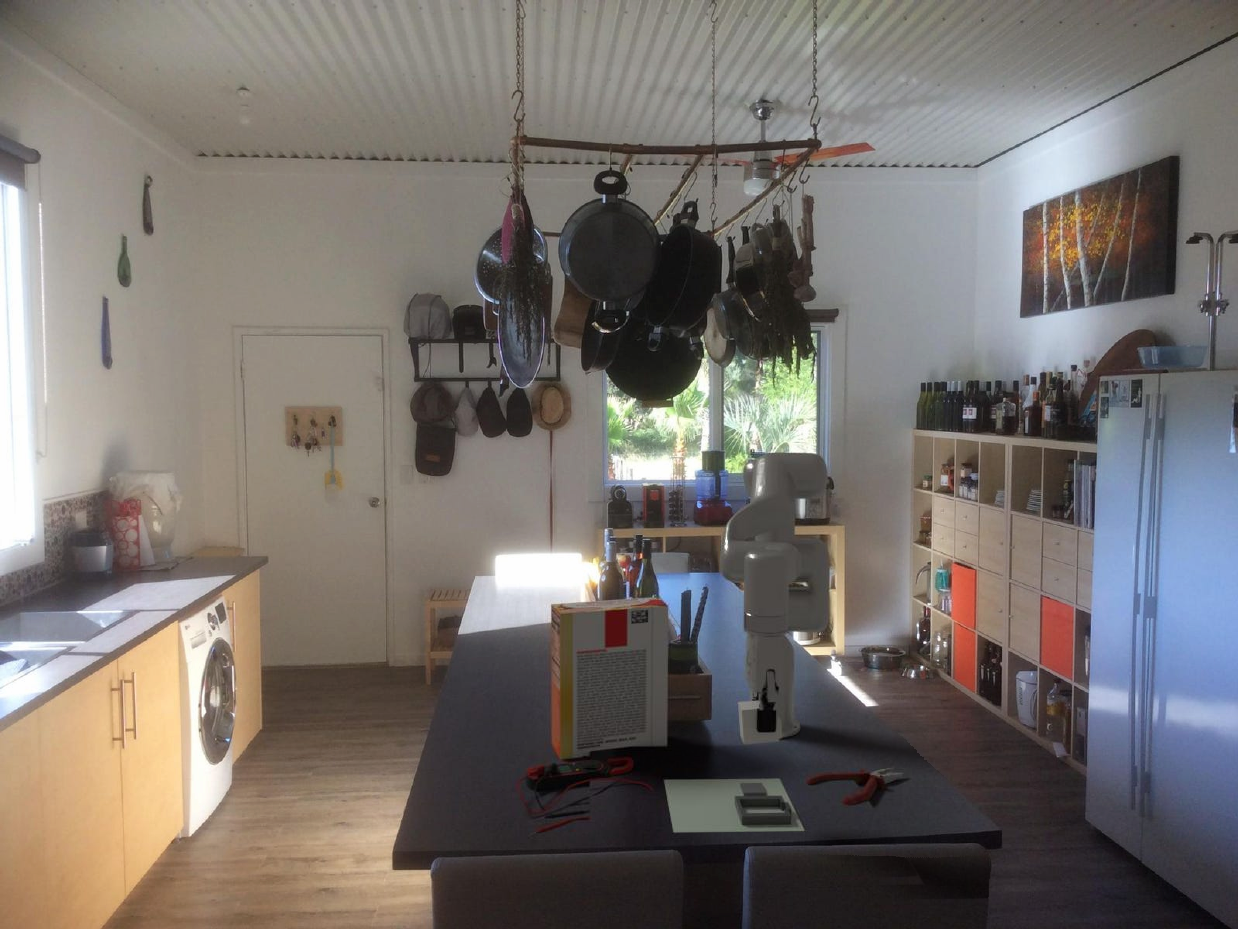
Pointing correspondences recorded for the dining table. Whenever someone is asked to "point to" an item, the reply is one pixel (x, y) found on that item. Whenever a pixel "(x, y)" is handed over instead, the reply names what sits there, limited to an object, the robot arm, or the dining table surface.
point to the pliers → (861, 782)
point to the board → (722, 804)
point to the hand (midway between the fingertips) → (763, 725)
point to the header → (763, 817)
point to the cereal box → (608, 675)
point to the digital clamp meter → (573, 780)
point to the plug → (755, 725)
